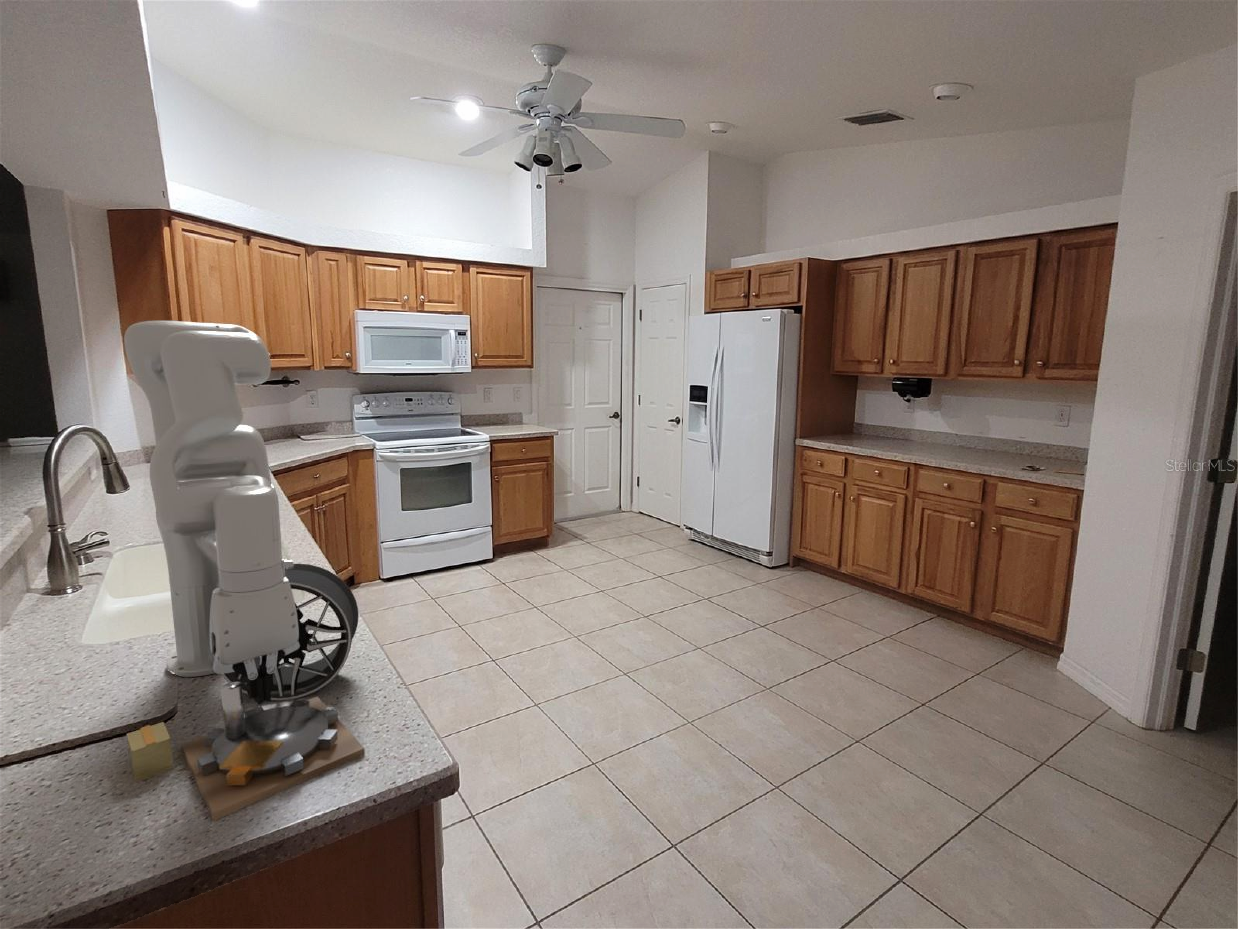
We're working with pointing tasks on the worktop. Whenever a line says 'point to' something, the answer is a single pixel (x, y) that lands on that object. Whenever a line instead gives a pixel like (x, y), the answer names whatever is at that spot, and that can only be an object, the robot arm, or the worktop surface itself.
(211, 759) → the sprocket
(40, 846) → the worktop surface
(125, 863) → the worktop surface
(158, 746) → the tan block with orange
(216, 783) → the sprocket base
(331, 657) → the wheel rim
